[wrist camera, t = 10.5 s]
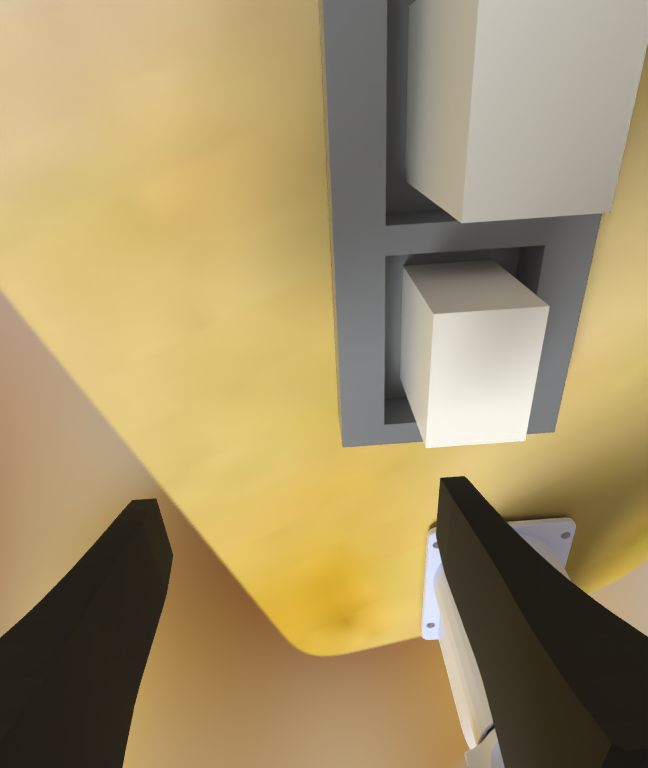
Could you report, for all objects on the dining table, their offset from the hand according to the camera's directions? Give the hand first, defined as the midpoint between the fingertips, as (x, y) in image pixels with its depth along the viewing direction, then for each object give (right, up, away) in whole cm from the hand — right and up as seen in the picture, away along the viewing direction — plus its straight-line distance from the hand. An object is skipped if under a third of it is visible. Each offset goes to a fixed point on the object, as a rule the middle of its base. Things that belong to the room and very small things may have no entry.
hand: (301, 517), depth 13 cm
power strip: (+5, +10, +6) cm, 13 cm away
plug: (+5, +13, +4) cm, 14 cm away
